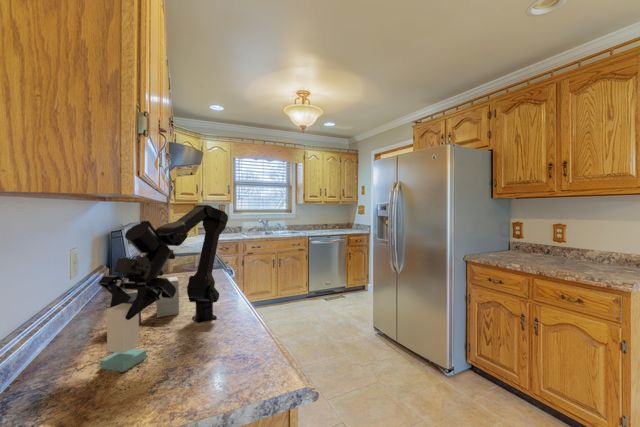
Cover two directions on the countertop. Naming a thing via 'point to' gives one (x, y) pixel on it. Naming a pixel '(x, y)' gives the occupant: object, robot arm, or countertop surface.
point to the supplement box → (169, 301)
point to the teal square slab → (123, 360)
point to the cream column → (121, 329)
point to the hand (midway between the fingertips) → (118, 318)
